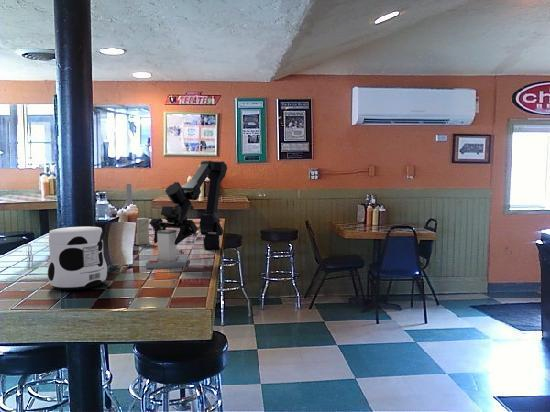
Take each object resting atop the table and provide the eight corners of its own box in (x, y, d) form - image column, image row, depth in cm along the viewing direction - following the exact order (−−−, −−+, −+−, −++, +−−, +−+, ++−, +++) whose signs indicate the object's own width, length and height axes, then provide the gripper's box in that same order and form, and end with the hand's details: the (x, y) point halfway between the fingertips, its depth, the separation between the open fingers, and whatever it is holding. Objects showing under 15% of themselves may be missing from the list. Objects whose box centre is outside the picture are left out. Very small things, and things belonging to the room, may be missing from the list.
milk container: (60, 280, 161) (57, 226, 159) (113, 279, 162) (111, 225, 161) (38, 294, 144) (35, 234, 142) (98, 293, 145) (96, 233, 143)
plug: (165, 261, 188) (164, 229, 187) (177, 262, 186) (176, 230, 185) (157, 264, 184) (156, 231, 182) (169, 265, 182) (168, 231, 180)
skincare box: (138, 245, 227) (137, 219, 226) (133, 244, 230) (132, 218, 229) (149, 243, 232) (148, 218, 231) (143, 242, 235) (143, 217, 234)
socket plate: (187, 259, 193) (187, 253, 192) (184, 267, 179) (184, 260, 179) (151, 260, 191) (151, 254, 191) (145, 268, 177) (145, 261, 177)
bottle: (132, 240, 242) (130, 183, 239) (121, 239, 244) (119, 183, 241) (140, 238, 248) (138, 183, 245) (129, 237, 250) (127, 183, 248)
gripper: (151, 197, 190) (134, 229, 181) (192, 198, 183) (176, 231, 174) (164, 215, 198) (148, 246, 189) (204, 217, 191) (189, 249, 182)
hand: (164, 243), depth 183 cm, fingers open, 9 cm apart
